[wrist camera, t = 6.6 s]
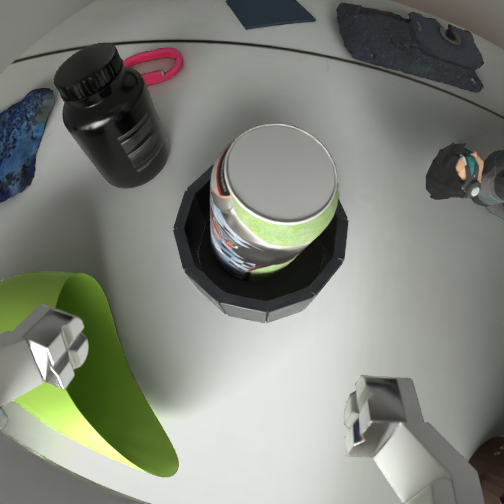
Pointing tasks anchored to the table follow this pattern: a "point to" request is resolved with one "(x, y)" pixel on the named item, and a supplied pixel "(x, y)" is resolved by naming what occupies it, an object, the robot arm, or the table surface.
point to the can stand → (188, 242)
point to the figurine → (468, 177)
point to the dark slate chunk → (411, 45)
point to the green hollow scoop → (90, 376)
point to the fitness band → (155, 54)
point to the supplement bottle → (112, 116)
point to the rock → (22, 140)
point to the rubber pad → (269, 12)
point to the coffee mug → (490, 469)
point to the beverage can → (269, 199)
